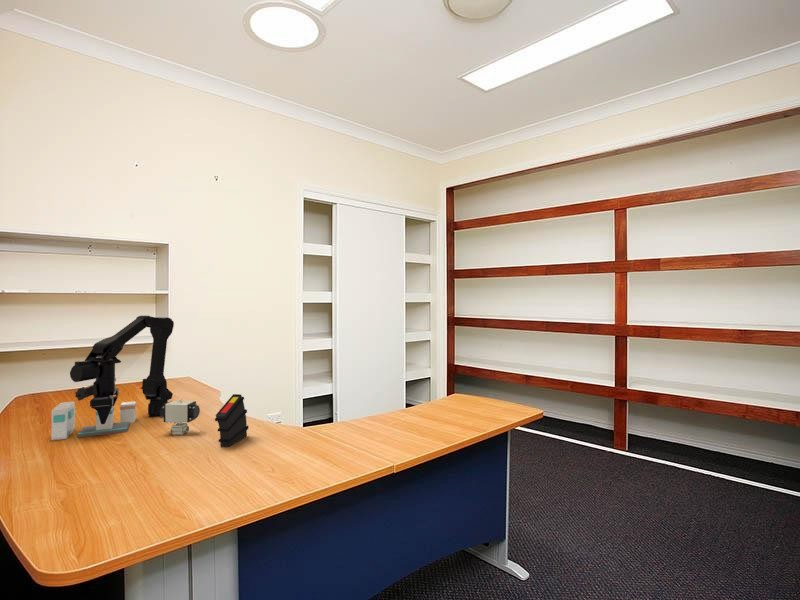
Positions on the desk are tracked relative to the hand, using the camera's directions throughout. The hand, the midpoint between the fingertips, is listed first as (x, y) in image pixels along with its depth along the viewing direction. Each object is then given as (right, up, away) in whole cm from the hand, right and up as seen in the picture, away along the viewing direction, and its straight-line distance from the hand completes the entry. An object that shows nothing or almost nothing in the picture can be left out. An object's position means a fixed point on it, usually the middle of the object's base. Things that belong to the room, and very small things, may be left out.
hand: (105, 420), depth 150 cm
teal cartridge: (0, -3, 0) cm, 3 cm away
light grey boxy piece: (+1, -4, +12) cm, 12 cm away
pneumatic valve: (+29, -4, -3) cm, 29 cm away
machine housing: (-11, -3, -5) cm, 13 cm away
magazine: (+50, -4, -12) cm, 52 cm away
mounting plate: (0, -4, 0) cm, 4 cm away
